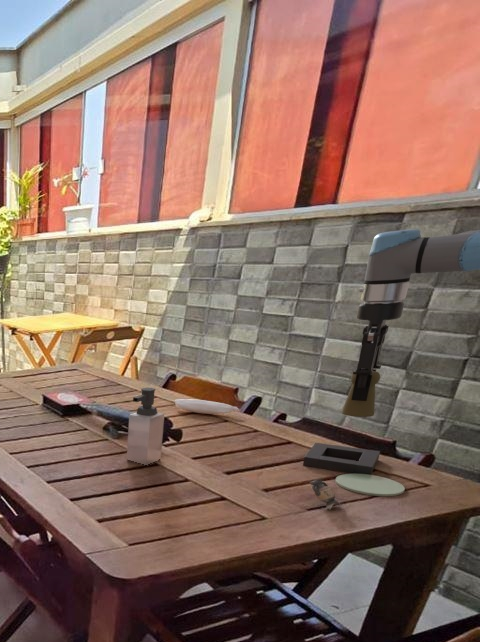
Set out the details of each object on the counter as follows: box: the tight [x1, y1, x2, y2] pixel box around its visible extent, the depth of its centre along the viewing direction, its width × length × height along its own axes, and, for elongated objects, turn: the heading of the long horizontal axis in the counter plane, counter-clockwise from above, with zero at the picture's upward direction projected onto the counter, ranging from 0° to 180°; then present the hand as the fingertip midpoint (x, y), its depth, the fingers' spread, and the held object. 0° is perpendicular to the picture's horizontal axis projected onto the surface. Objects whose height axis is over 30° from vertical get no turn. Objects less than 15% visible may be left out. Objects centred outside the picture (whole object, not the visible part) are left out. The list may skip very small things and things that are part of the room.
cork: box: [341, 370, 381, 418], centre depth 122 cm, size 6×6×11 cm
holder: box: [302, 442, 381, 475], centre depth 131 cm, size 13×13×2 cm
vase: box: [309, 478, 344, 512], centre depth 112 cm, size 5×5×6 cm
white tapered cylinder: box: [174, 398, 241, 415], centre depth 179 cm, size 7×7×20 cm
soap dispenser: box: [126, 387, 165, 466], centre depth 143 cm, size 6×9×22 cm
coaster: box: [334, 473, 406, 497], centre depth 118 cm, size 12×12×1 cm
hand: (361, 397), depth 123 cm, fingers closed on cork, 5 cm apart
